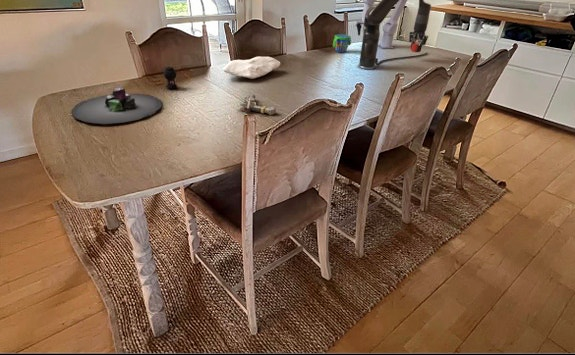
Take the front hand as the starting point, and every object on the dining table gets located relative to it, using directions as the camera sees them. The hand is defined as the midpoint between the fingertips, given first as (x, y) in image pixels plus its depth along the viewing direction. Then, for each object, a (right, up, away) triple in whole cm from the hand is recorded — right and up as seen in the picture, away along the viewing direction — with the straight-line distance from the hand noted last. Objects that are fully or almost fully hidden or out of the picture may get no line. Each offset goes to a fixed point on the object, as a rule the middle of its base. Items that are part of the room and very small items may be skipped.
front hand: (415, 50), depth 232 cm
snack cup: (-45, +5, +17) cm, 48 cm away
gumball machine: (-138, -38, -56) cm, 153 cm away
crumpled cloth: (-102, -25, -34) cm, 110 cm away
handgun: (-94, -50, -73) cm, 129 cm away
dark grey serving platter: (-152, -52, -80) cm, 180 cm away
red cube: (0, -1, 0) cm, 0 cm away
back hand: (-28, +20, +25) cm, 42 cm away
